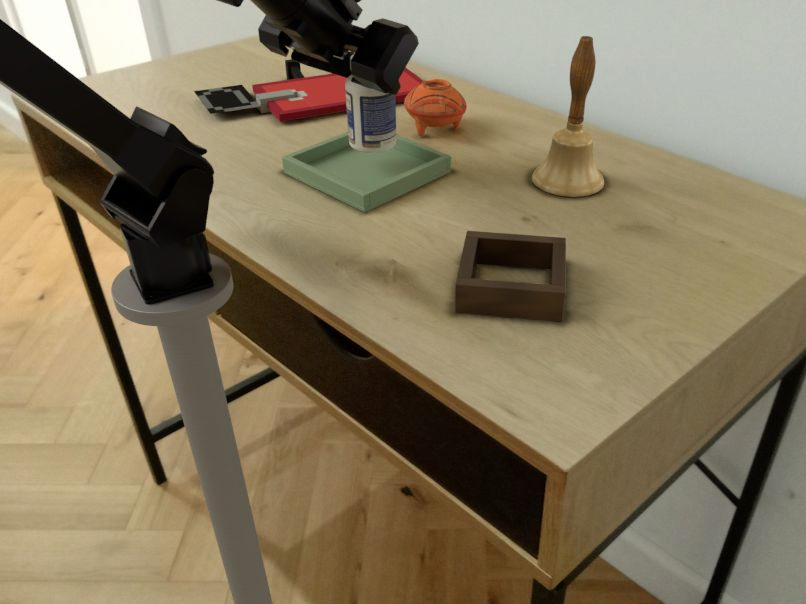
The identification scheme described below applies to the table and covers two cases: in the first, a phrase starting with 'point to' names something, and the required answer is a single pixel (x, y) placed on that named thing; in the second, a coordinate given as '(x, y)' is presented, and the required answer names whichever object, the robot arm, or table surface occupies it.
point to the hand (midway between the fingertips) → (379, 84)
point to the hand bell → (573, 137)
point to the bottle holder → (507, 294)
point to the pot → (435, 105)
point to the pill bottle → (370, 118)
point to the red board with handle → (294, 94)
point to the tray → (366, 170)
